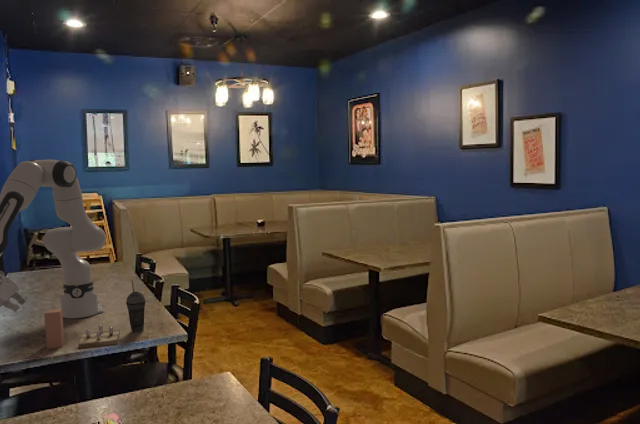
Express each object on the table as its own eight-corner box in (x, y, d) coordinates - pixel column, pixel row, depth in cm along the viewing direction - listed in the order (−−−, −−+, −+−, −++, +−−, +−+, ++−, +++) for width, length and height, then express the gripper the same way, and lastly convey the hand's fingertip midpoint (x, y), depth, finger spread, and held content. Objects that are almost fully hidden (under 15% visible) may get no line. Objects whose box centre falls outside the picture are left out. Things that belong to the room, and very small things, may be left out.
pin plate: (83, 337, 200) (82, 325, 200) (119, 333, 204) (119, 321, 204) (78, 348, 188) (77, 336, 188) (117, 343, 192) (116, 331, 191)
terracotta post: (49, 344, 193) (47, 309, 192) (64, 342, 195) (62, 308, 194) (47, 348, 188) (44, 313, 187) (62, 346, 190) (59, 311, 189)
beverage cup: (138, 334, 202) (135, 283, 200) (123, 332, 204) (120, 282, 203) (151, 328, 209) (148, 279, 207) (136, 327, 211) (133, 278, 209)
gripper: (-15, 281, 174) (20, 306, 178) (2, 269, 193) (33, 293, 197) (-30, 295, 173) (6, 321, 177) (-11, 282, 193) (21, 306, 196)
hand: (21, 306), depth 187 cm, fingers open, 8 cm apart
